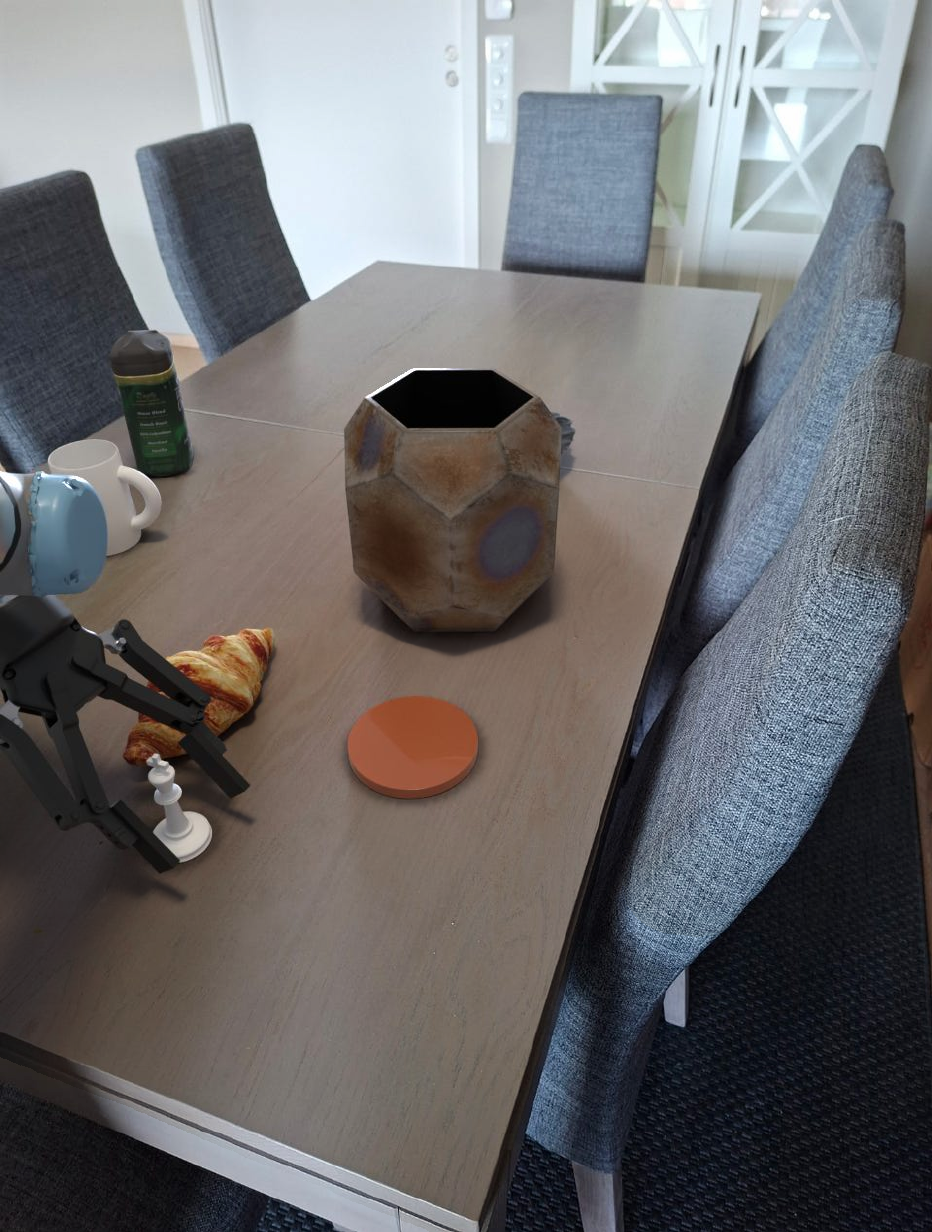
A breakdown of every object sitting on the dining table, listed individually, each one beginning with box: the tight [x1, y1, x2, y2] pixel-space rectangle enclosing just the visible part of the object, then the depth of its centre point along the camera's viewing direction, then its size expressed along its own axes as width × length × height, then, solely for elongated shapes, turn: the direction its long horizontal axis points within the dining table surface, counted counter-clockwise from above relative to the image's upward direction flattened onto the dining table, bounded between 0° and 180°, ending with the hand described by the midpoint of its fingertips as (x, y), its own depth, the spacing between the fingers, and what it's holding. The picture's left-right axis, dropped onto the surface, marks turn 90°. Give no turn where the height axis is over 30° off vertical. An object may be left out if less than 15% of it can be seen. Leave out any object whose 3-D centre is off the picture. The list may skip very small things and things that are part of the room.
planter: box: [343, 367, 562, 633], centre depth 94 cm, size 22×24×24 cm
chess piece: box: [146, 754, 213, 864], centre depth 70 cm, size 5×5×10 cm
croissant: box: [122, 627, 276, 767], centre depth 84 cm, size 21×10×8 cm, turn 156°
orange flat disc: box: [347, 695, 479, 800], centre depth 81 cm, size 12×12×1 cm
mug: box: [47, 438, 162, 557], centre depth 107 cm, size 8×12×12 cm
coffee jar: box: [109, 329, 194, 477], centre depth 122 cm, size 10×8×19 cm
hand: (206, 827), depth 70 cm, fingers open, 8 cm apart
